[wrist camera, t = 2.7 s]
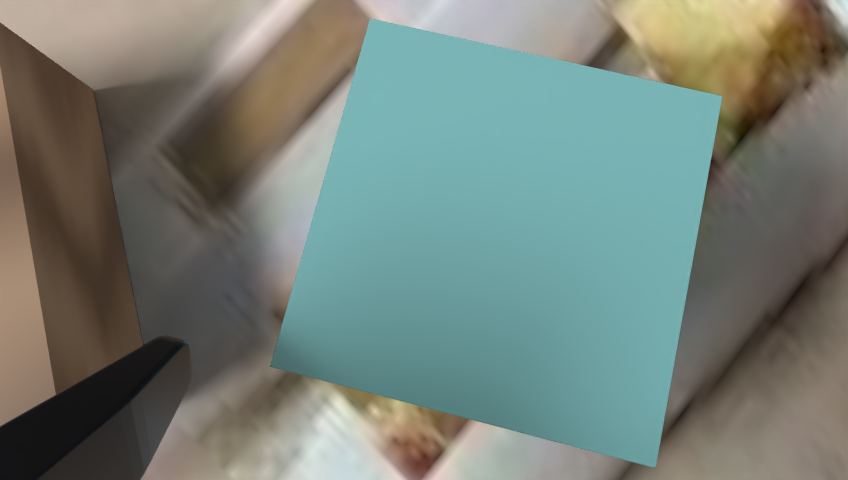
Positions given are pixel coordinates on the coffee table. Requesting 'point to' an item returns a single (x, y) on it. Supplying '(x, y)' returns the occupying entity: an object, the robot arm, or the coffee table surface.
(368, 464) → the coffee table surface
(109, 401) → the robot arm
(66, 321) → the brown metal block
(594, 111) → the lid
